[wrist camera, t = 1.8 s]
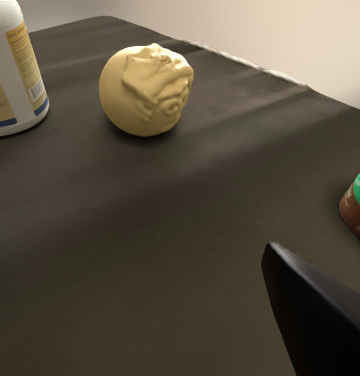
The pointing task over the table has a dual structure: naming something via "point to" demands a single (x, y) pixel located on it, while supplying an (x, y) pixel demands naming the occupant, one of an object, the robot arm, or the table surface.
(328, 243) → the table surface
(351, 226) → the food container
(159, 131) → the sculpture
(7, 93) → the supplement tub
